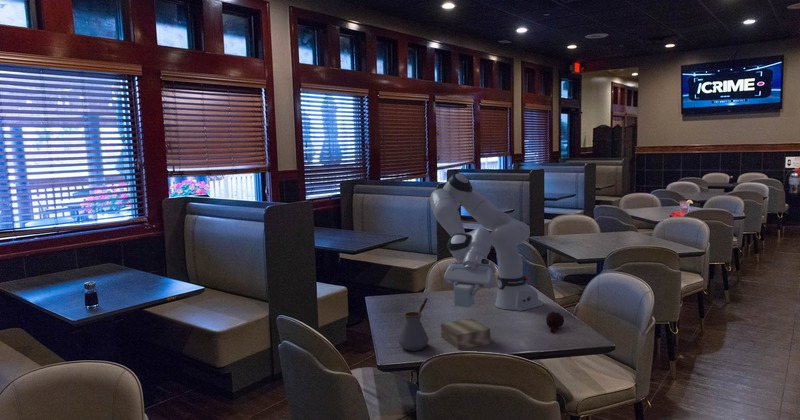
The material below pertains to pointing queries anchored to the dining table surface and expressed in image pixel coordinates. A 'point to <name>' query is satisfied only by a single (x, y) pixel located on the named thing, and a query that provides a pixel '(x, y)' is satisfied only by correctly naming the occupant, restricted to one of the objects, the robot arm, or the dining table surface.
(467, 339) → the oak box
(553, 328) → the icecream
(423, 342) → the coffee pot
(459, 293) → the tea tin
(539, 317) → the dining table surface
